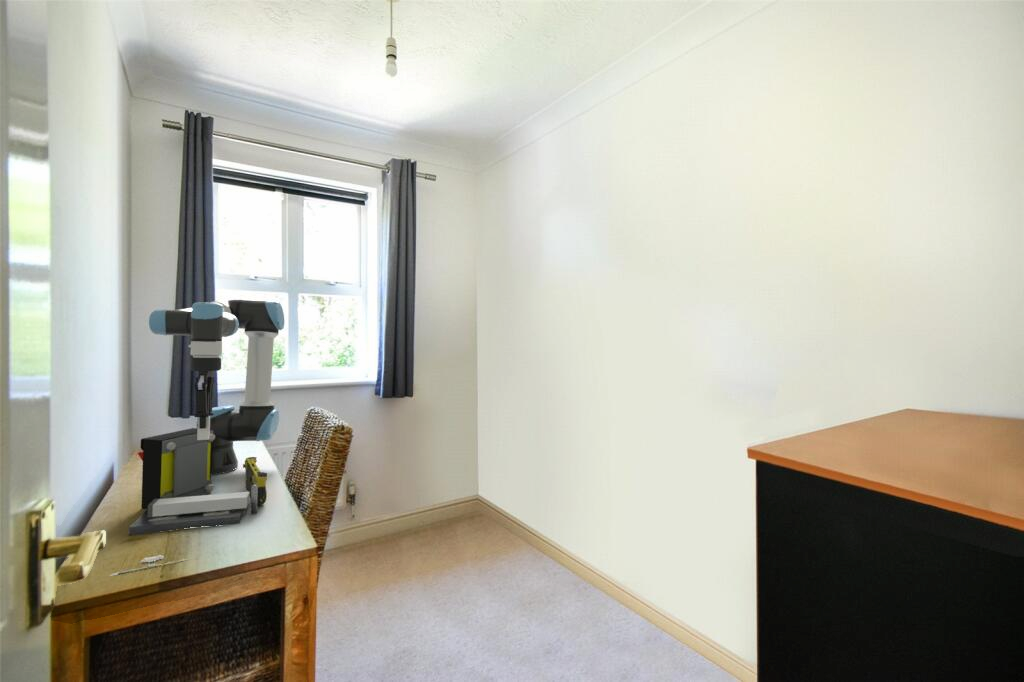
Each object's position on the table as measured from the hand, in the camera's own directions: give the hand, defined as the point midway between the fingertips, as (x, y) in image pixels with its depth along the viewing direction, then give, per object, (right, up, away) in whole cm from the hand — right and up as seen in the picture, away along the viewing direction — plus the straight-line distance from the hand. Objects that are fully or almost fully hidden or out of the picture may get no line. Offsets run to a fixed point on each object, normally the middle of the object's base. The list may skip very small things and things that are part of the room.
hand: (203, 439), depth 134 cm
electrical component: (-13, -20, +8) cm, 25 cm away
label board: (+3, -20, -6) cm, 22 cm away
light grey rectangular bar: (+3, -18, -6) cm, 19 cm away
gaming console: (+7, -21, +13) cm, 26 cm away
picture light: (+10, -21, -32) cm, 39 cm away
